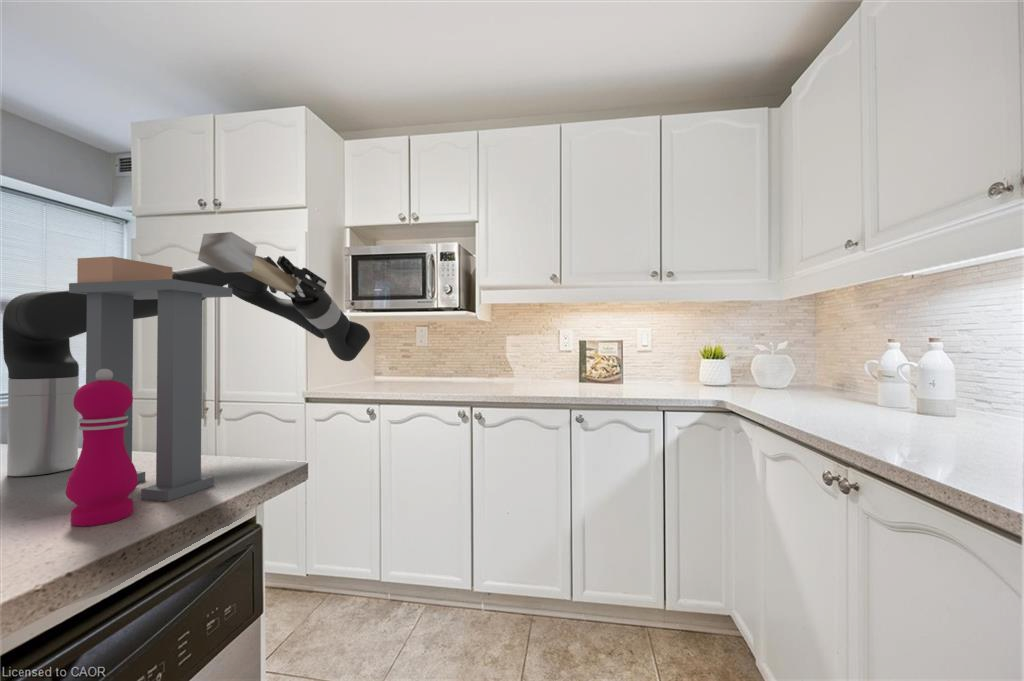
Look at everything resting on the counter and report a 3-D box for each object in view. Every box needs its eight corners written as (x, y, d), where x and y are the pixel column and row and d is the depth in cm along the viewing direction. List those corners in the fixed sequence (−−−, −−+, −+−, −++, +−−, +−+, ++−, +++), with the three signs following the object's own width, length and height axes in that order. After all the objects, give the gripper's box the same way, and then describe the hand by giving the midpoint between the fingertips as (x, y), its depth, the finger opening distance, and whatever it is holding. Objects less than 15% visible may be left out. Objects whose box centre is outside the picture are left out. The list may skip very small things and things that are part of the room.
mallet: (197, 259, 81) (203, 233, 82) (276, 296, 100) (279, 275, 101) (226, 258, 80) (231, 232, 81) (300, 296, 99) (304, 274, 100)
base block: (77, 283, 73) (77, 258, 73) (140, 290, 83) (140, 268, 83) (112, 282, 72) (112, 256, 72) (172, 289, 81) (172, 267, 81)
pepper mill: (95, 530, 57) (96, 370, 58) (50, 526, 59) (51, 369, 59) (151, 510, 65) (152, 367, 65) (109, 506, 66) (111, 367, 66)
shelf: (66, 492, 72) (69, 283, 73) (137, 473, 83) (138, 291, 84) (170, 501, 68) (172, 279, 69) (231, 480, 79) (232, 288, 79)
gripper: (296, 294, 113) (250, 246, 98) (348, 293, 110) (308, 243, 95) (286, 320, 109) (235, 274, 95) (339, 319, 106) (295, 272, 92)
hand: (272, 259), depth 95 cm, fingers closed on mallet, 3 cm apart
